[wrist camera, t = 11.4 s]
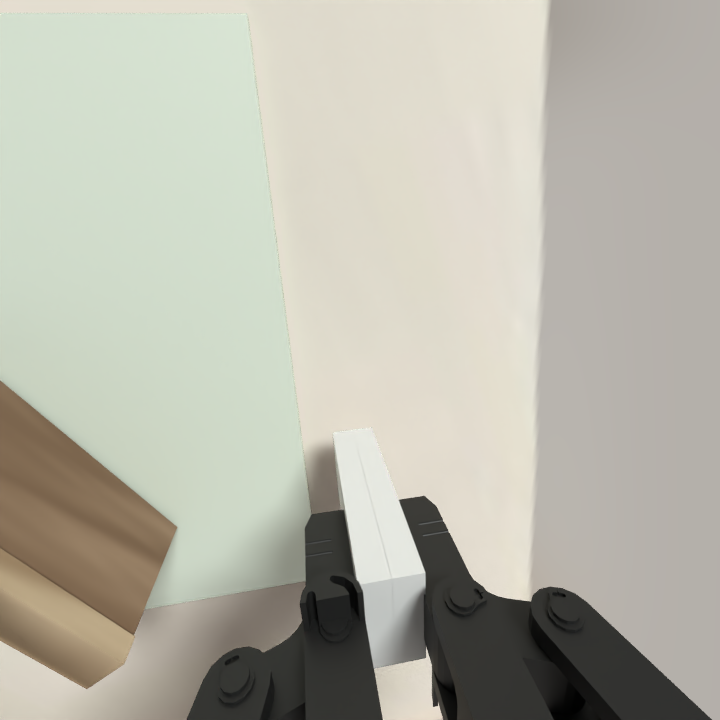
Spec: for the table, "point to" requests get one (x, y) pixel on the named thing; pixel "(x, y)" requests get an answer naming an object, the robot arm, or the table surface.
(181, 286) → the card
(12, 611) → the board
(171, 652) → the table surface
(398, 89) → the table surface
